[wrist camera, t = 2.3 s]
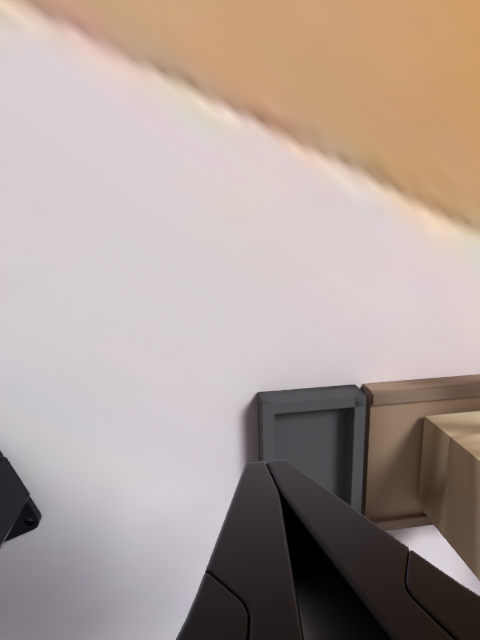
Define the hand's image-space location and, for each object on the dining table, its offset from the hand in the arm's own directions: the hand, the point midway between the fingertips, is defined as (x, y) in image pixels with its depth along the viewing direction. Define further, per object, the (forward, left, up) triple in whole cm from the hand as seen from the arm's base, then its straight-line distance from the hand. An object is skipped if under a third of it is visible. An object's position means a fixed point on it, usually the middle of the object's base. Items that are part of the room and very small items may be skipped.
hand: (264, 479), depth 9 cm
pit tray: (+2, -9, -13) cm, 16 cm away
